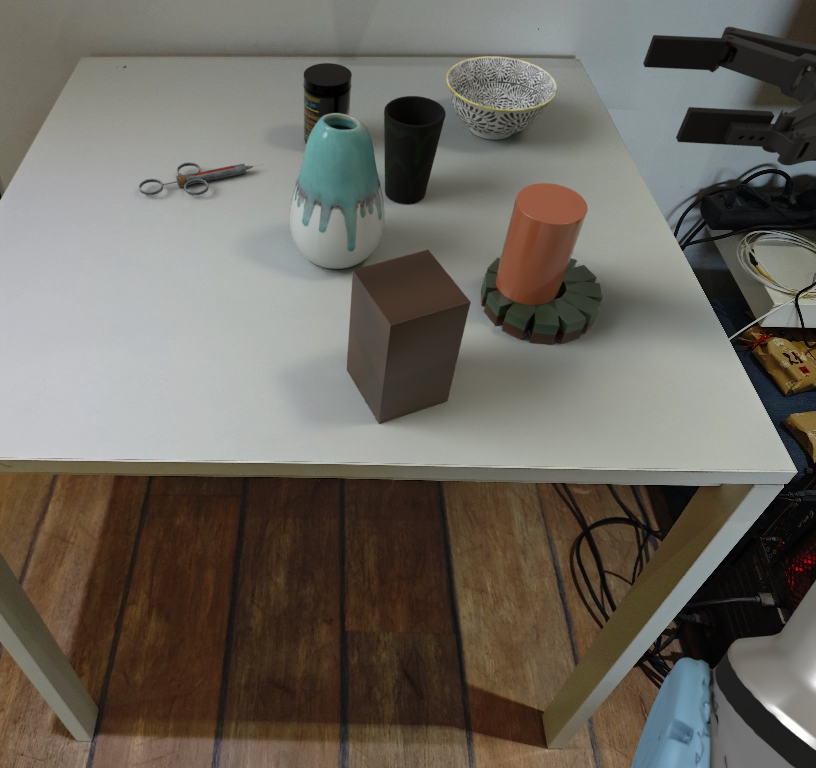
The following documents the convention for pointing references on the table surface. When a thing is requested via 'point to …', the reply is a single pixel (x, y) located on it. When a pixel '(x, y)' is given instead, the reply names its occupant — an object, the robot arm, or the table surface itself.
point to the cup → (410, 146)
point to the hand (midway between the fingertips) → (664, 85)
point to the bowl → (499, 94)
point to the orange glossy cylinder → (539, 242)
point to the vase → (337, 195)
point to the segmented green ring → (546, 307)
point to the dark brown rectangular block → (404, 334)
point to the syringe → (198, 177)
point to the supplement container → (325, 93)
